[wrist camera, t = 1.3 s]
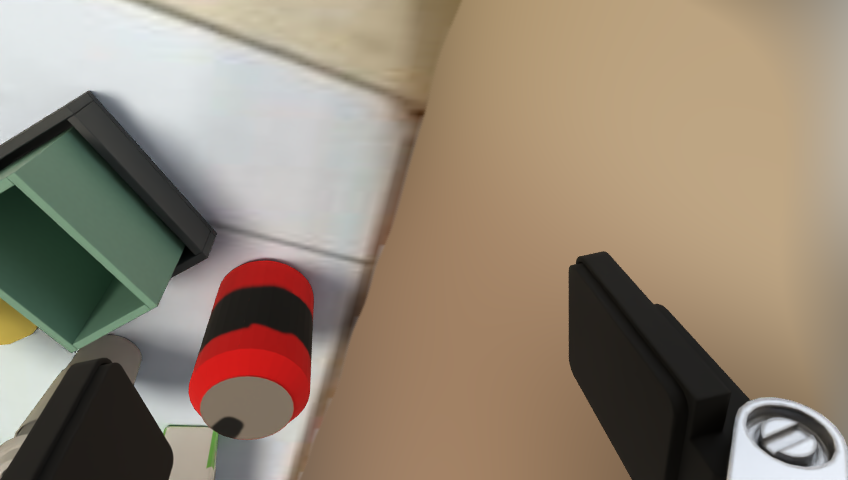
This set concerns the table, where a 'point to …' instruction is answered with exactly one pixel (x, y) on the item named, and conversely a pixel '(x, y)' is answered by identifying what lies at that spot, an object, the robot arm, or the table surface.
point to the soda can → (255, 352)
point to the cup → (100, 348)
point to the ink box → (192, 452)
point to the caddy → (79, 243)
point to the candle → (13, 324)
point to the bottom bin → (121, 169)
